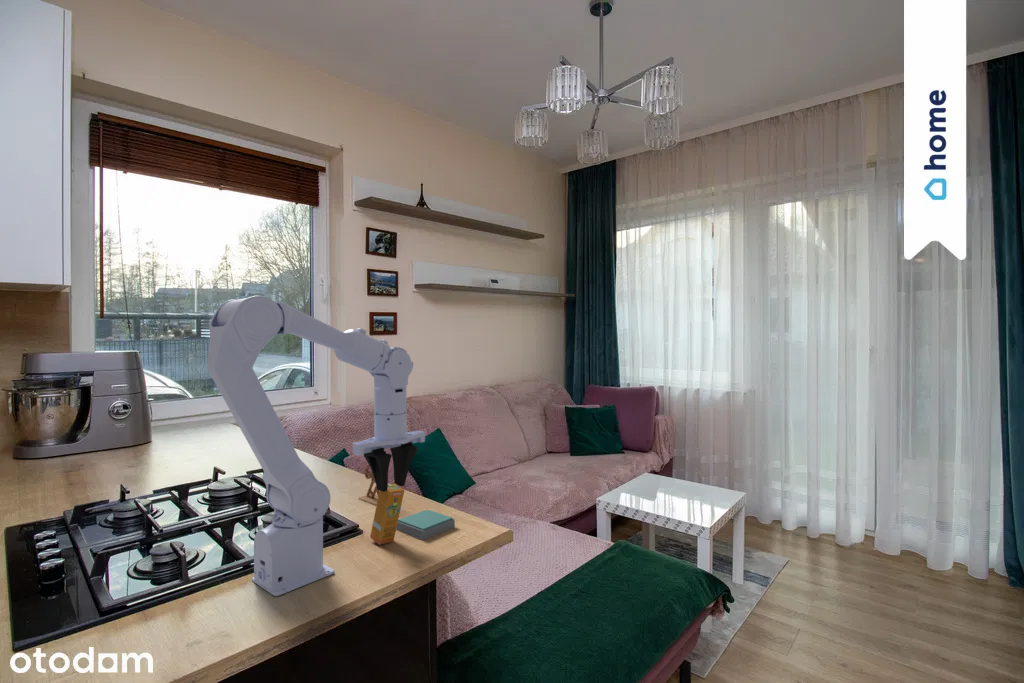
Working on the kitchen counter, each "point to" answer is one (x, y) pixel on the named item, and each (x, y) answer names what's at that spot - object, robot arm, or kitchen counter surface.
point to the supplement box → (387, 514)
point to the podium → (425, 524)
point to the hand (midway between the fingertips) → (391, 487)
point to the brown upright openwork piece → (372, 497)
